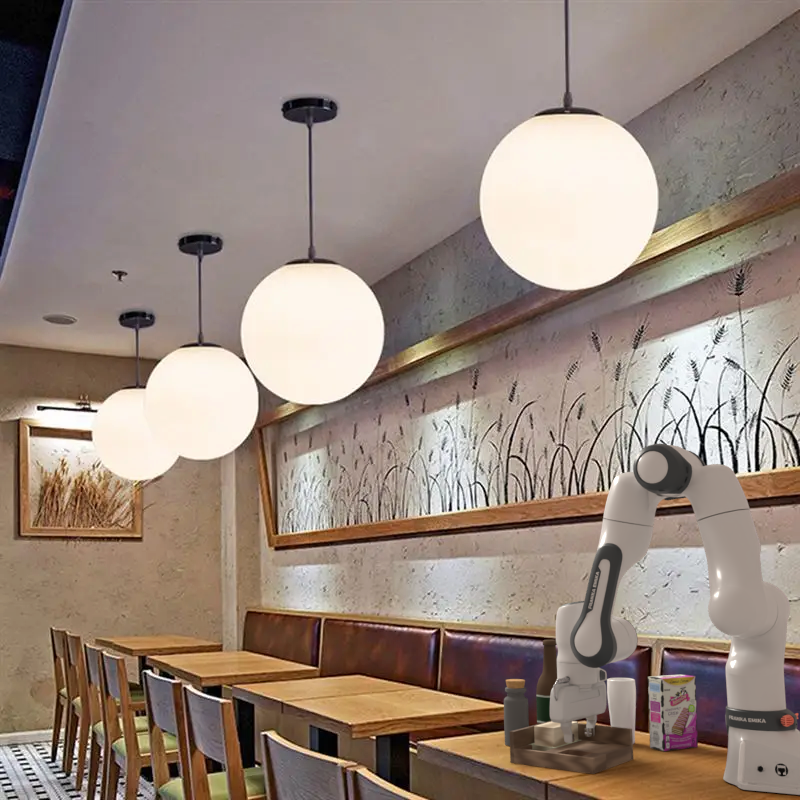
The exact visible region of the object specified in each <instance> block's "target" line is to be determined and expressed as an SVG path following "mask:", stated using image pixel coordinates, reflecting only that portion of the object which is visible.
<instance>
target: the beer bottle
mask: <svg viewBox="0 0 800 800" xmlns="http://www.w3.org/2000/svg"><path fill="white" fill-rule="evenodd" d="M542 646H543V654H542V655H543V658H542V660H543V662H542V673H541V674H540V676H539V678H538V681H537V684H536V692H535V693H536V697H535V698H536V701H535V702H536V724H540V723H544V722H548V721H551V719H550V694H551V690H552V688H553V685H554V684H555V682H556V680H557V656H558V654H557V644H556V639H544V640H542Z"/></svg>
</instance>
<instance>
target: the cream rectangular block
mask: <svg viewBox="0 0 800 800" xmlns="http://www.w3.org/2000/svg"><path fill="white" fill-rule="evenodd" d="M578 723H579V722H578V721H576V720H575V721H572V726H571V730H572V734H574V740H575V741H577V740H578ZM534 738H535V745H540V746H548V747H557V746H560V745H564V744H567V743H566V742H565V741H564V734H563V731H562V729H561V726H560V723H555V722H548V723H544V724H540V725H537V726H534Z"/></svg>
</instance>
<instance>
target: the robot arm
mask: <svg viewBox="0 0 800 800" xmlns="http://www.w3.org/2000/svg"><path fill="white" fill-rule="evenodd" d="M684 498H685V499H687V500H688V501H689V503H690V504H691V507H692V510H693V513H694V517H695V520H696V521H695V522H696V525H697V527H698V532H699V535H700V538H701V543H702V546H703V549H704V553H705V557H706V563H707V564H706V565H707V573H708V583H709V584H708V585H709V595H710V596H709V597H710V598H709V601H708V607H707V608H708V610H707V612H708V616H709V620H710V621H711V623H712V625H713V627H715V628H716V629H717V630H718V631H720V632H722V633H724V634H725V635H727V636H730V637H731V641H730V648H729V652H728V658H727V660H726V664H725V682H726V685H725V686H726V698H727V705H726V706H725V715H724V717H725V728H726V734H727V736H728V737H727V756H726V763H725V768H724V773H723V777H722V779H723V781H725V782H727V783H729V784H731V785H734V786H736V787H738V788H739V789H741V790H744V791H754V792H755V791H756V792H765V793H766V792H767V793H777V794H787V795H797V796H800V730H799V729H797V728H798V720H799V713H798V712H796V713H794V712H793V711H792V710H790V709H789V708H787V703H786V688H785V687H786V685H785V673H784V672H785V656H786V655H785V654H786V653H785V652H786V644H787V633H788V620H789V618H790V614H791V604H790V600H789V598H788V596H787V595H786V593H785V592H784V591H783V590H782V589H780V588H779V587H777V586H776V585H775V584H772V583H771V582H768V581H765V580H764V581H763V574H762V573H763V572H762V563H761V552H762V545H761V543H760V542H761V541H760V537H759V535H758V532H757V528H756V525H755V521H754V518H753V515H752V512H751V508H750V506H749V502H748V499H747V497H746V494H745V491H744V489H743V487H742V485H741V482H739V479H738V476H737V475H736V473H735V471H734V470H733V469H732V468H731V467H729V466H728V465H724V464H718V463H711V464H706V463H705V461H704V460H703V459H702V458H701V457H700V456H699V455H698V454H696V453H695V452H693V451H691V450H687V449H684V448H683V447H681V446H678V445H673V444H667V443H666V444H665V443H653V444H650V445H647V446H645V447H644V448H642V449H641V450H640V451H639V452H638V453H637V455H636V456H635V458H634V461H633V465H632V471H627V472H622V473H619V474H618V475H617V476H615V477H614V478H613V480H612V482H611V484H610V488H609V491H608V494H607V497H606V502H605V506H604V511H603V516H602V517H603V518H602V523H601V530H600V536H599V540H598V545H597V548H596V549H597V550H596V553H595V556H594V559H593V562H592V567H591V570H590V575H589V577H588V578H589V579H588V584H587V588H586V591H585V592H586V593H585V596H584V600H580V601H572V602H567V603H564V604H562V605H561V606H559V607H558V609H557V612H556V617H555V640H556V644H557V645H556V648H557V680H556V682H555V684H554V685H553V688H552V690H551V694H550V719H551V721H552V722H555V723H560V726H561V729H562V731H563V734H564V741H565V742H566V743H571V742H574V741H575V740H574V734H572V730H571V726H572V721H575V722H576V721H578V720H582V719H585V720H586V723H585V724H586V728H584V731H585V736H587V737H592V736H594V735H595V730H594V728H595V725H597V720H598V715H600V714H604V713H605V712H606V709H607V683H606V682H605V681H607V679H608V675H607V671H606V670H605V669H603V668H601V667H604V666H607V665H608V664H611V663H616V662H620V661H623V660H626V659H628V658H629V657H630V656H632V655H633V654H634V653H635V652H636V649H637V647H638V642H639V641H638V640H639V639H638V633H637V631H636V628H635V627H634V625H633V624H632V623H631V622H630V621H629V620H627V619H625V618H623V617H619V616H616V615H614V614H613V613H614V611H615V604H616V600H617V595H618V590H619V586H620V583H621V581H622V579H623V578H624V575H625V574H626V573H627V572H628V571H629V570H630V569H631V568H632V567H633V566H635V565H636V564H637V563H639V562H640V561H641V560H642V559H644V558H645V557H646V555H647V553H648V551H649V549H650V545H651V542H652V537H653V533H654V525H655V516H656V511H657V508H658V506H659V504H660V503H661V502H662V501H663V500H664V501H672V500H678V499H679V500H680V499H684Z"/></svg>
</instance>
